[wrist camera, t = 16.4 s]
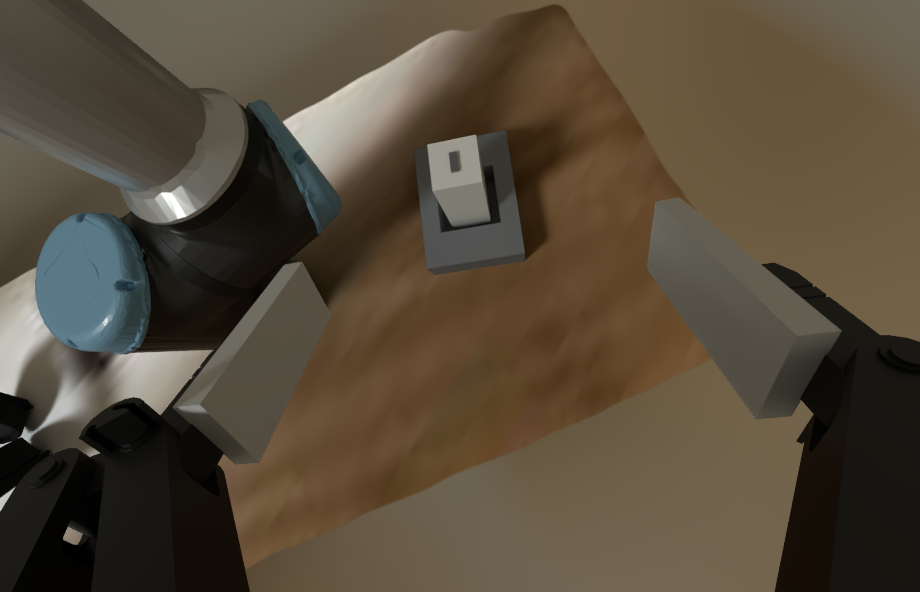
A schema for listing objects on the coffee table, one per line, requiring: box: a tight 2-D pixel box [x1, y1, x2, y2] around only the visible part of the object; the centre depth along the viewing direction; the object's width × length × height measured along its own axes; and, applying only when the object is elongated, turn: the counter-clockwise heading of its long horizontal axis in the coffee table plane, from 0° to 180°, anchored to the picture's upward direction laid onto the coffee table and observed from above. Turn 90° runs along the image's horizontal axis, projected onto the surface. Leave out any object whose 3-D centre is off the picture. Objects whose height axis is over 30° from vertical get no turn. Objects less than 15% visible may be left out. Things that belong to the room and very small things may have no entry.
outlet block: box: [414, 130, 525, 275], centre depth 46 cm, size 16×12×4 cm
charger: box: [427, 135, 491, 229], centre depth 41 cm, size 5×5×12 cm
